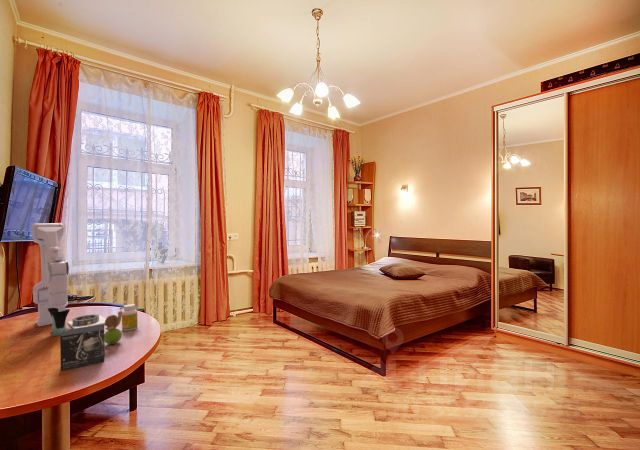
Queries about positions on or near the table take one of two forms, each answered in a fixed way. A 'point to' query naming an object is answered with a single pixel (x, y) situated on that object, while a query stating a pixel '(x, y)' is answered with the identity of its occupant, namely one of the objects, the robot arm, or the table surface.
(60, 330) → the teal peg
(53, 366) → the table surface
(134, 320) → the supplement bottle
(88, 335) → the box
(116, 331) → the snail figurine
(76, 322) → the collar plate
